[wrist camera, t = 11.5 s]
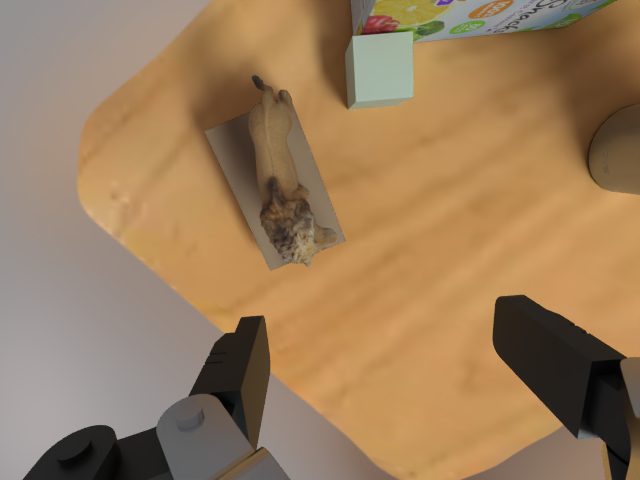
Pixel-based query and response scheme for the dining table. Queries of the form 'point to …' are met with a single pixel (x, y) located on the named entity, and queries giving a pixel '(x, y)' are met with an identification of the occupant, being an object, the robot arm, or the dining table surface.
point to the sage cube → (379, 70)
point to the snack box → (466, 16)
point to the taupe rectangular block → (241, 175)
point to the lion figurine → (283, 182)
